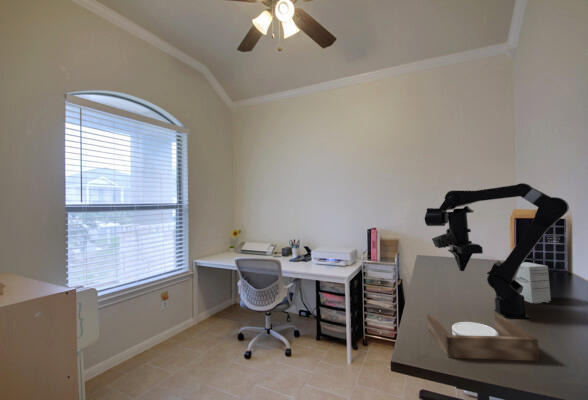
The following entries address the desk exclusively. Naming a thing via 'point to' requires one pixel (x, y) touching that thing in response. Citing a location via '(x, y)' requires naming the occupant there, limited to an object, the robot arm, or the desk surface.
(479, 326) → the coaster
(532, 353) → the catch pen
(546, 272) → the supplement box
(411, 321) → the desk surface
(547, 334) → the desk surface
